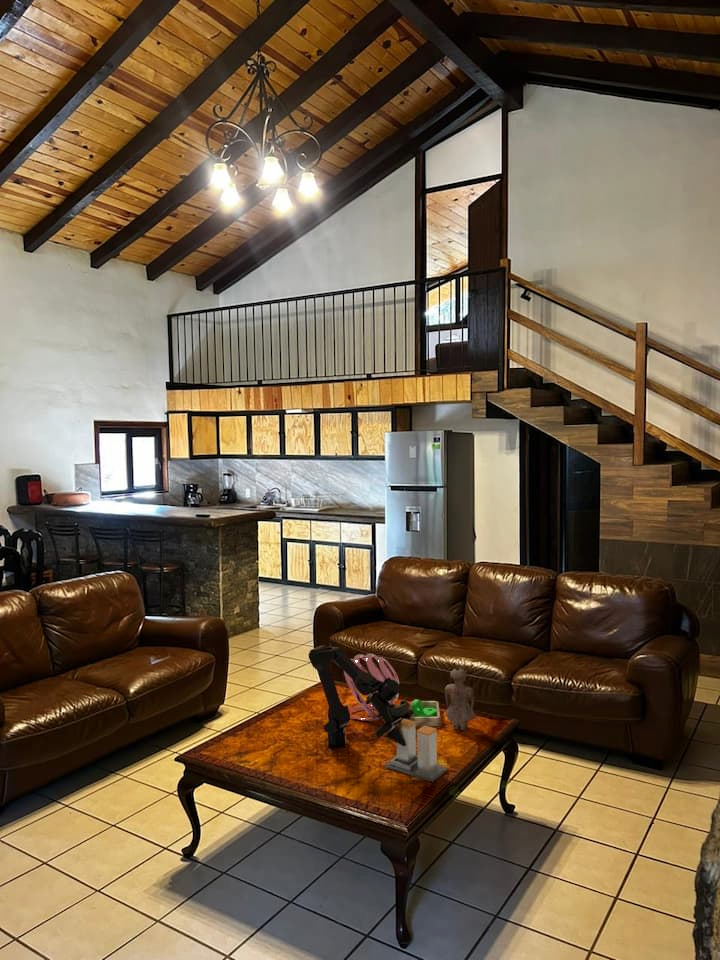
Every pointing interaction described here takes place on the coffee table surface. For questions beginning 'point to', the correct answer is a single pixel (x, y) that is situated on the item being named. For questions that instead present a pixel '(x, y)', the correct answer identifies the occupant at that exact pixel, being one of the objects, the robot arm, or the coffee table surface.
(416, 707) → the mechanical part
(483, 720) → the coffee table surface
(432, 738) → the housing
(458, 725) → the clay figurine
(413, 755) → the post
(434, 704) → the parts corral
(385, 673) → the spiral basket
